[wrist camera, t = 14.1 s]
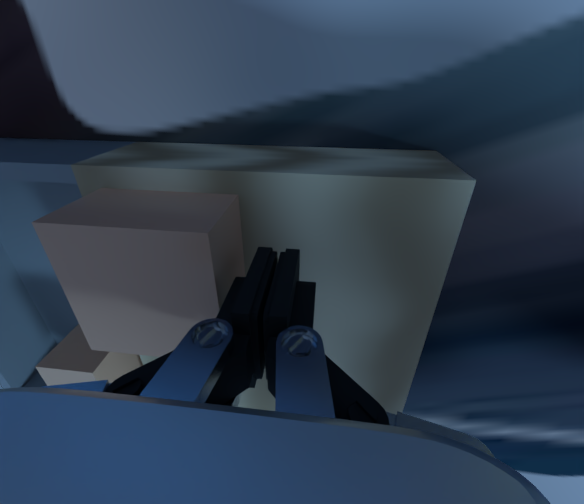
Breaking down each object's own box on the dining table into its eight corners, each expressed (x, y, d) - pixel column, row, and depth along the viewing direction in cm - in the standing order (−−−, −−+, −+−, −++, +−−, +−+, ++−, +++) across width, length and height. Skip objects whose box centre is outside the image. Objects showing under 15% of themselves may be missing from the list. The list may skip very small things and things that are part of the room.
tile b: (238, 194, 12) (208, 233, 9) (247, 307, 15) (227, 364, 12) (101, 187, 13) (31, 222, 10) (136, 298, 16) (91, 349, 13)
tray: (137, 141, 17) (70, 165, 13) (190, 361, 26) (162, 418, 22) (-54, 136, 18) (-174, 155, 14) (61, 348, 27) (11, 399, 23)
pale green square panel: (436, 150, 15) (476, 180, 11) (381, 380, 24) (391, 446, 20) (137, 141, 17) (70, 165, 13) (190, 361, 26) (162, 418, 22)
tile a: (92, 373, 17) (35, 366, 17) (122, 433, 20) (73, 427, 20) (149, 302, 22) (104, 299, 22) (166, 359, 25) (126, 355, 25)
